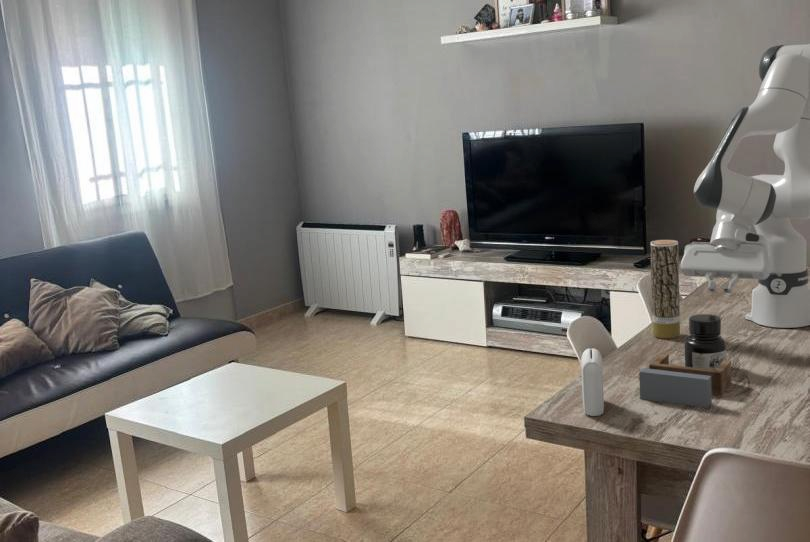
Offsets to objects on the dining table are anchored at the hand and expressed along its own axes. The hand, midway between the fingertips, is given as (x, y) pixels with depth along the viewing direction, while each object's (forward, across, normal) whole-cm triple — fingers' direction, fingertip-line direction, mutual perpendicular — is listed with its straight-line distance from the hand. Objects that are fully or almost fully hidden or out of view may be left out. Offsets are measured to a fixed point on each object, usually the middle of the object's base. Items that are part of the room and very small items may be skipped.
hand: (719, 290), depth 195 cm
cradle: (+27, 0, -6) cm, 28 cm away
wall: (+36, 0, -14) cm, 38 cm away
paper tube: (+4, -16, +18) cm, 24 cm away
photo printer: (+42, -14, -20) cm, 49 cm away
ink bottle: (+20, 0, +2) cm, 20 cm away
